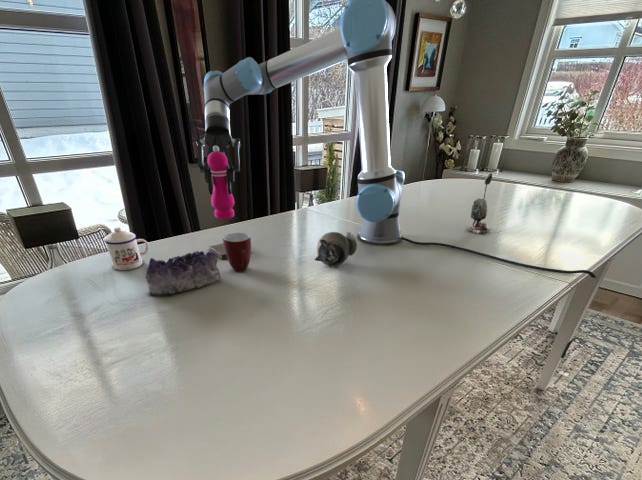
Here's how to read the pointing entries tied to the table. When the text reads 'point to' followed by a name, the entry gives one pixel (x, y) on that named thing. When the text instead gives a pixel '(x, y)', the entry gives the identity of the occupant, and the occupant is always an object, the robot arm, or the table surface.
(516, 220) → the table surface
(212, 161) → the pepper mill
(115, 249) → the teacup with lid
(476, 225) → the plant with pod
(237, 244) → the mug
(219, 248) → the grey angular chunk
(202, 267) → the geode
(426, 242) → the robot arm
